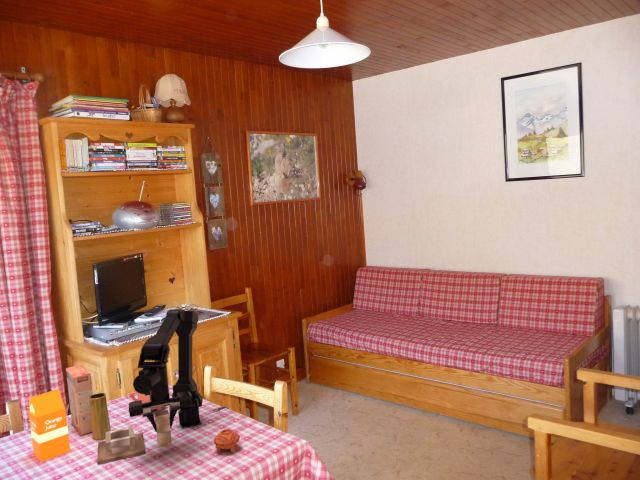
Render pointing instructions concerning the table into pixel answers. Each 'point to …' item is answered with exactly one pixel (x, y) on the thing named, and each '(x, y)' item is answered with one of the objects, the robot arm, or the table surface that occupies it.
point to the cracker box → (80, 398)
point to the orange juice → (48, 425)
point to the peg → (163, 428)
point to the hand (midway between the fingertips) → (163, 429)
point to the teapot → (143, 399)
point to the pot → (226, 440)
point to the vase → (99, 416)
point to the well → (120, 445)
